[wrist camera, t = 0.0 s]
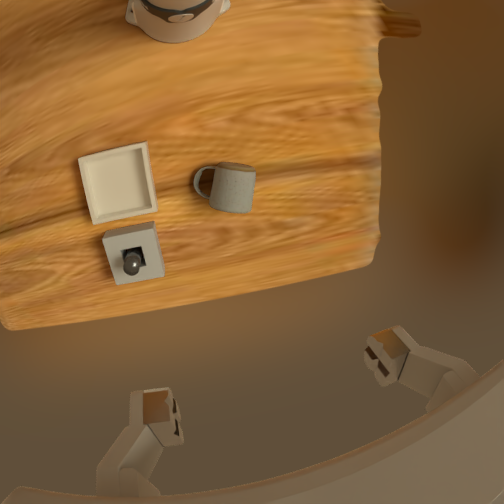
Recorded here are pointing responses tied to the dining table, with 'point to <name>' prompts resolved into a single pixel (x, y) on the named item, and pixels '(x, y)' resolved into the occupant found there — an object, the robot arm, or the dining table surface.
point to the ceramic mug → (230, 187)
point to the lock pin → (133, 261)
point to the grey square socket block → (131, 238)
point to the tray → (118, 183)
